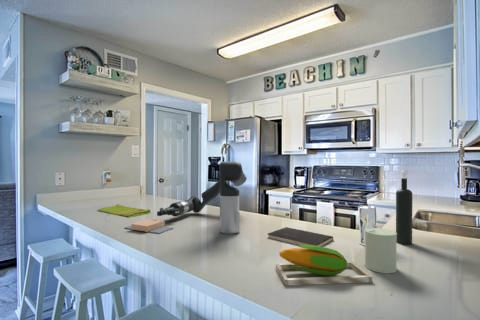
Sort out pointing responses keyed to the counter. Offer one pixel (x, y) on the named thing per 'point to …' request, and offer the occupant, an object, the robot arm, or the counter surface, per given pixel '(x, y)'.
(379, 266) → the can
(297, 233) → the hardcover book
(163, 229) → the mat
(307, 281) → the corn rest
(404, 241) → the wine bottle
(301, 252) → the corn
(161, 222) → the tile
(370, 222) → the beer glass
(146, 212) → the dish towel
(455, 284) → the counter surface
